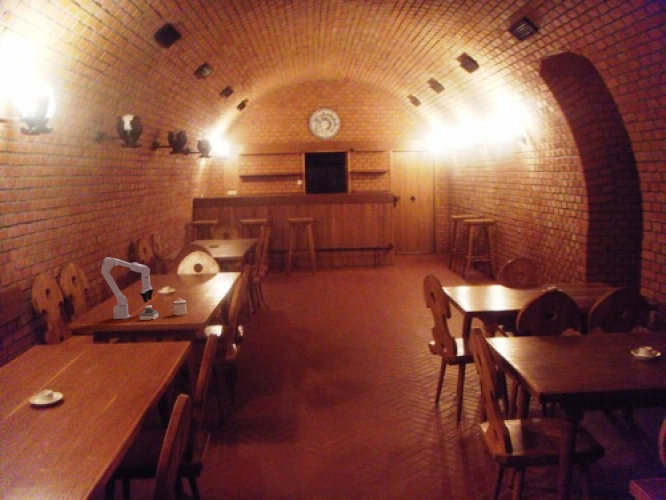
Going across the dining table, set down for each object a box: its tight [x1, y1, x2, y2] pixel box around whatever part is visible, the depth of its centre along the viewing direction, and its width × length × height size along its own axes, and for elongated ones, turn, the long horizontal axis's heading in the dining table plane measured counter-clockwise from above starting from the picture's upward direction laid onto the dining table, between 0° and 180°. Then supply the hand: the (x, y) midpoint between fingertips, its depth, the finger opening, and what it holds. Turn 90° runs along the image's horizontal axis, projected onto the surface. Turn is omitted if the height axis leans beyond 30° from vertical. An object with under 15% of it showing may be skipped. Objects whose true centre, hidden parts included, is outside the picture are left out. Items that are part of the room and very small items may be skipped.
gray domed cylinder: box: [144, 304, 154, 313], centre depth 412 cm, size 5×5×6 cm
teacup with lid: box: [168, 297, 188, 316], centre depth 420 cm, size 12×9×12 cm
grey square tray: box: [139, 309, 159, 321], centre depth 413 cm, size 10×9×4 cm
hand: (147, 301), depth 424 cm, fingers open, 7 cm apart
